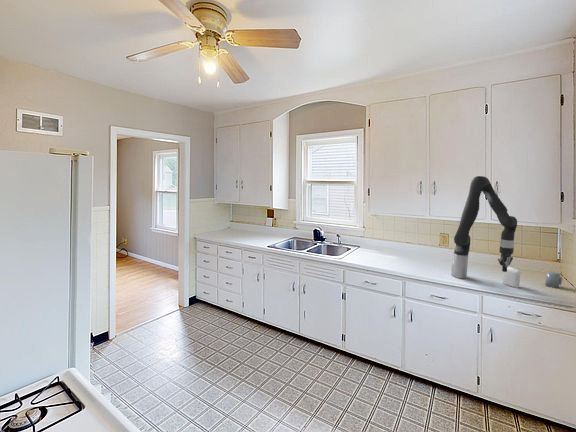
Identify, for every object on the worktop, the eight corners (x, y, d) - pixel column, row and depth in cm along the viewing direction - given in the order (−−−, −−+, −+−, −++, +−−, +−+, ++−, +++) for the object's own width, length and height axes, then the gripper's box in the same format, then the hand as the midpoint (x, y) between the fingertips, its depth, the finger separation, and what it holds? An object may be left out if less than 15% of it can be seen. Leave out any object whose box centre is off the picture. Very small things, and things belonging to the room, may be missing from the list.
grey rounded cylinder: (545, 286, 203) (547, 273, 202) (544, 283, 209) (545, 271, 208) (561, 289, 198) (563, 276, 197) (559, 285, 204) (561, 273, 203)
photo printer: (501, 283, 210) (502, 266, 209) (505, 282, 211) (507, 265, 210) (515, 288, 200) (517, 270, 199) (520, 287, 201) (522, 269, 200)
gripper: (506, 244, 205) (504, 268, 207) (494, 246, 199) (492, 271, 201) (518, 246, 198) (516, 271, 200) (506, 248, 192) (504, 274, 195)
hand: (504, 271), depth 201 cm, fingers closed
